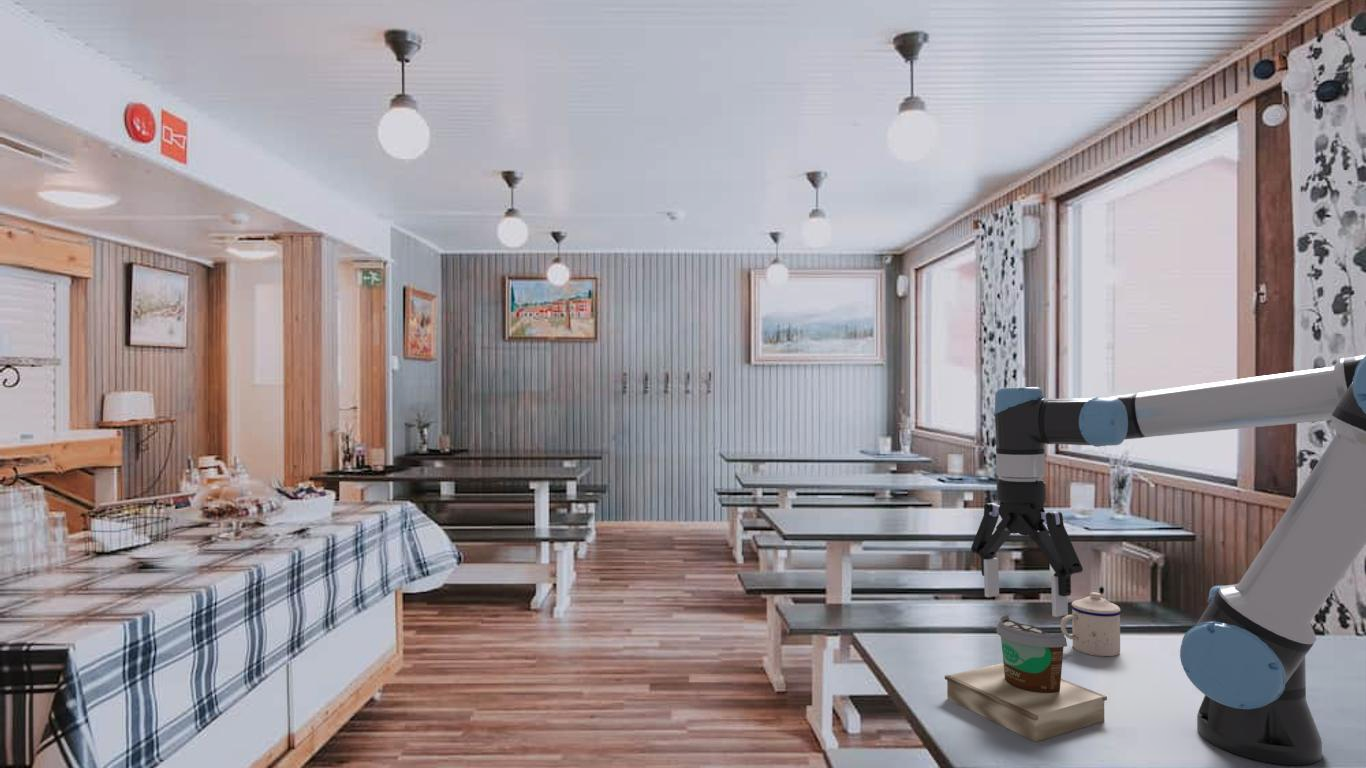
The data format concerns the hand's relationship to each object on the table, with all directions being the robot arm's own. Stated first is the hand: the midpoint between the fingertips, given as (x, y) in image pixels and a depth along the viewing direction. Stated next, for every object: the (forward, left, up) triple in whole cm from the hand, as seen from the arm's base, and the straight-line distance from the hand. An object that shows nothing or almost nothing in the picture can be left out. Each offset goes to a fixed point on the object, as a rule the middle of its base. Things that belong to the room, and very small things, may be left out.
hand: (1024, 605), depth 127 cm
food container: (+1, 0, -14) cm, 14 cm away
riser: (0, 0, -18) cm, 18 cm away
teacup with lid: (+14, -36, -18) cm, 43 cm away
